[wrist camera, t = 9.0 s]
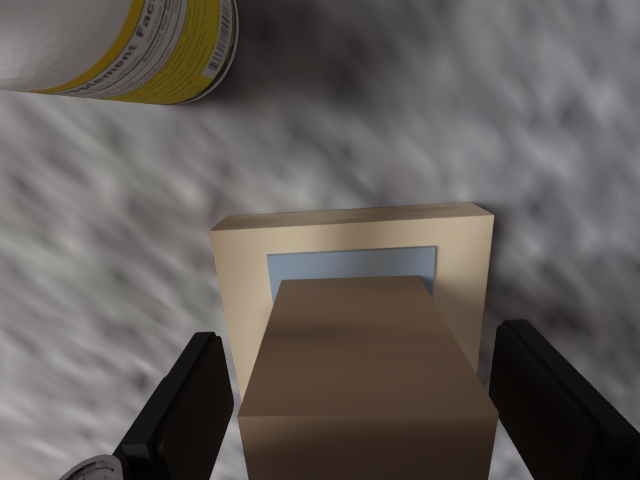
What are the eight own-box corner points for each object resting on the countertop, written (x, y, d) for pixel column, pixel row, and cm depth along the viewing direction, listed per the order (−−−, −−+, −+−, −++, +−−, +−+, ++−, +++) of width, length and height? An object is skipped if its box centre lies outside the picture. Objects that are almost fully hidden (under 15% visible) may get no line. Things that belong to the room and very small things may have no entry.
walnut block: (413, 385, 13) (472, 573, 8) (292, 387, 14) (265, 571, 8) (418, 275, 12) (498, 413, 6) (281, 279, 12) (237, 417, 6)
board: (470, 202, 13) (496, 216, 11) (447, 480, 18) (461, 526, 16) (226, 216, 14) (206, 232, 12) (271, 483, 19) (263, 527, 17)
